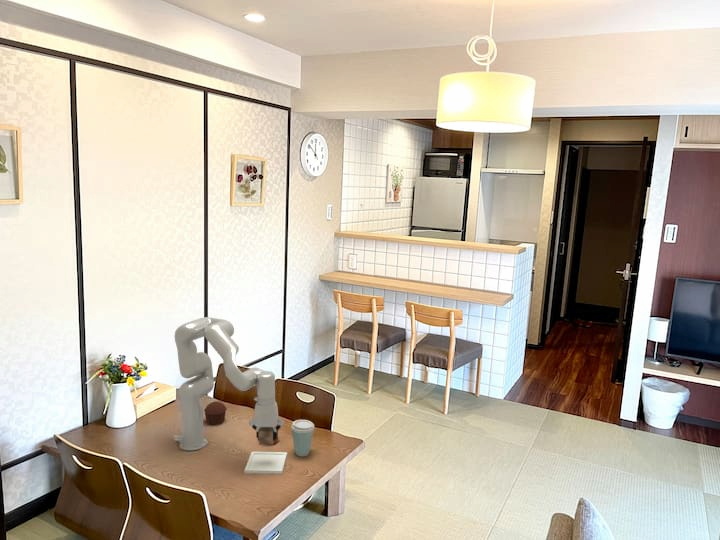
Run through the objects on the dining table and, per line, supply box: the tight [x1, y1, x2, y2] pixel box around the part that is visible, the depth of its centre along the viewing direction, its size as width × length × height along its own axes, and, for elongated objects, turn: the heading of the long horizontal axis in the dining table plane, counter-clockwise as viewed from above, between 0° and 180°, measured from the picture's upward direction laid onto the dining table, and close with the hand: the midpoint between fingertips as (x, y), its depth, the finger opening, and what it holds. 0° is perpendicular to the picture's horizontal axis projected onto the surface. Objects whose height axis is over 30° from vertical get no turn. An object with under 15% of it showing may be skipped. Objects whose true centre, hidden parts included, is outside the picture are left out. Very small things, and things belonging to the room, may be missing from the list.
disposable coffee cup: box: [290, 419, 315, 457], centre depth 248 cm, size 11×11×15 cm
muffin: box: [203, 401, 228, 426], centre depth 279 cm, size 12×11×10 cm
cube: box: [258, 427, 274, 446], centre depth 237 cm, size 6×6×6 cm
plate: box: [244, 451, 288, 475], centre depth 239 cm, size 16×16×1 cm
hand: (266, 438), depth 237 cm, fingers closed on cube, 6 cm apart
